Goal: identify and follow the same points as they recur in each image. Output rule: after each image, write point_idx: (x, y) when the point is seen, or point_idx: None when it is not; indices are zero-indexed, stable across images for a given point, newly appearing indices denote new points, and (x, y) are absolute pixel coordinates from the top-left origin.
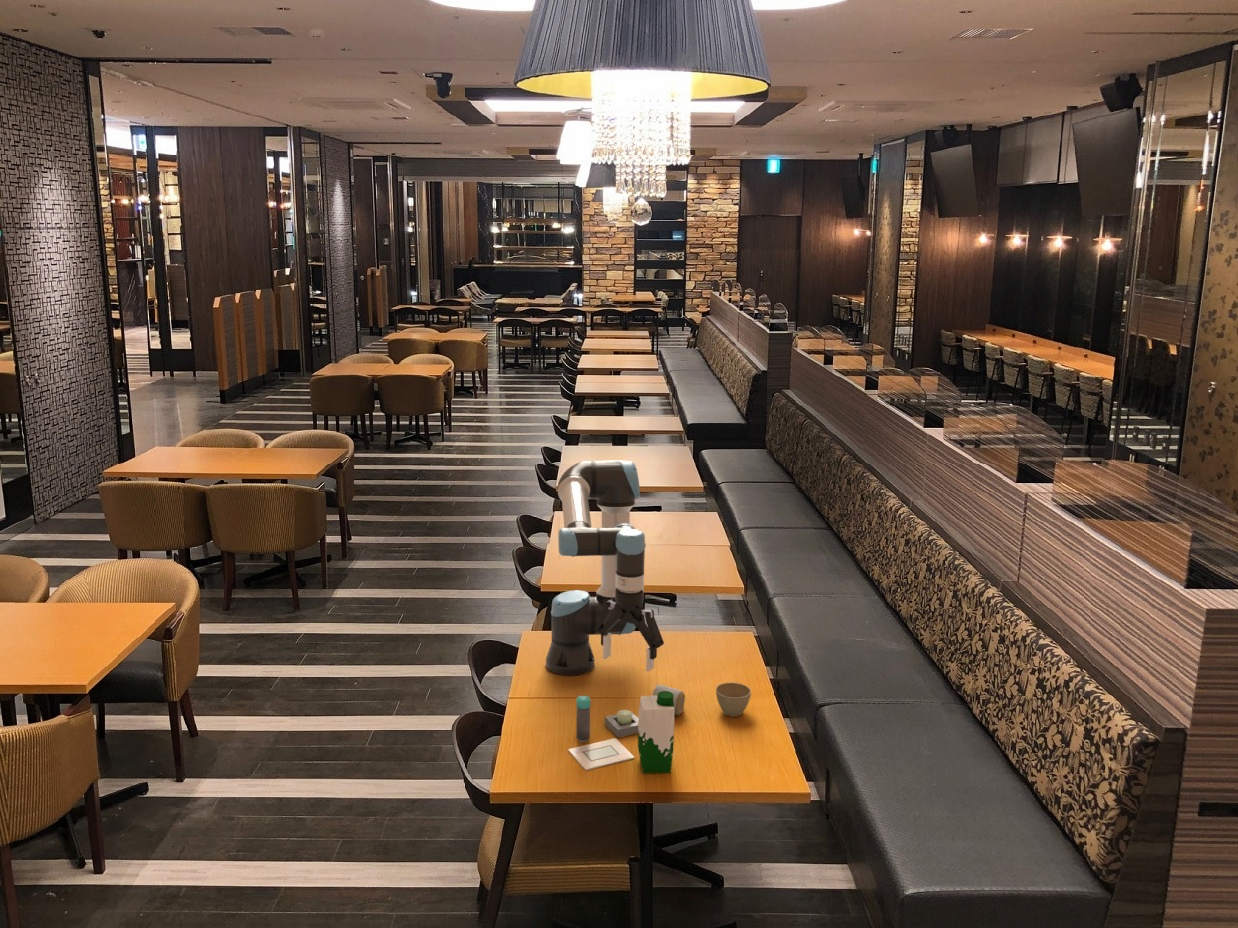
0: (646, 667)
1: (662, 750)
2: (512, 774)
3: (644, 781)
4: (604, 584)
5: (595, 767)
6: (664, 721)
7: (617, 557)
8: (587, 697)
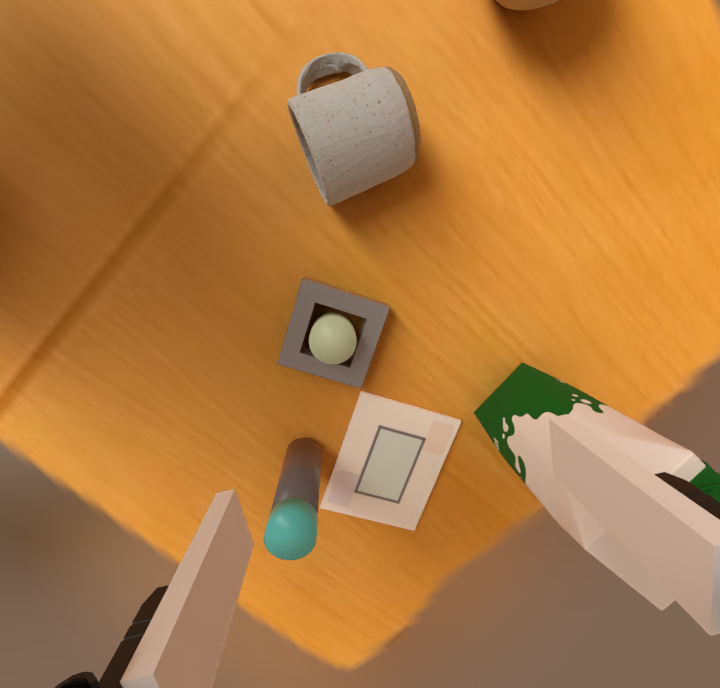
0: (570, 490)
1: None
2: (315, 634)
3: None
4: None
5: (422, 508)
6: None
7: None
8: (290, 521)
